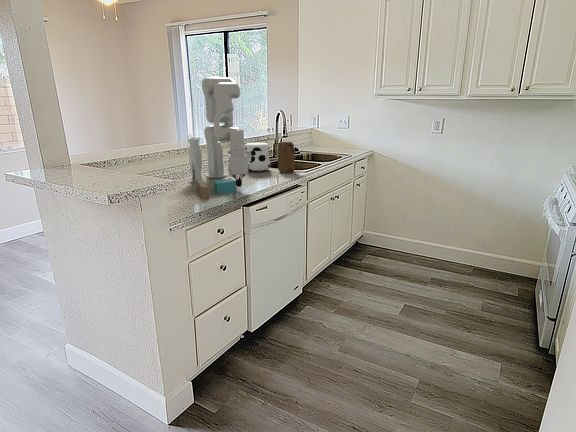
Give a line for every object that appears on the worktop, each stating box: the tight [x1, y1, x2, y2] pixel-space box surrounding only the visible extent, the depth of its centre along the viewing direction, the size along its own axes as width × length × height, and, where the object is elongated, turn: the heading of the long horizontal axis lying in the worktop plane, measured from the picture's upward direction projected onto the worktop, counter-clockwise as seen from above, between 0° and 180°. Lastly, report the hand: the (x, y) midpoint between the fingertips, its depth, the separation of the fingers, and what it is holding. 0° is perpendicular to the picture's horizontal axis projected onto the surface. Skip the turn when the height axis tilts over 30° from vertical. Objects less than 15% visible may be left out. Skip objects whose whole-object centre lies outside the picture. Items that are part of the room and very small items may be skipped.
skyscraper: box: [187, 133, 204, 185], centre depth 221 cm, size 8×8×28 cm
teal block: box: [213, 177, 237, 195], centre depth 204 cm, size 8×10×6 cm
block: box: [277, 141, 296, 174], centre depth 250 cm, size 11×8×20 cm
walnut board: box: [196, 178, 210, 200], centre depth 199 cm, size 20×3×6 cm, turn 21°
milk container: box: [244, 142, 271, 173], centre depth 255 cm, size 17×17×18 cm
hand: (238, 186), depth 206 cm, fingers closed
